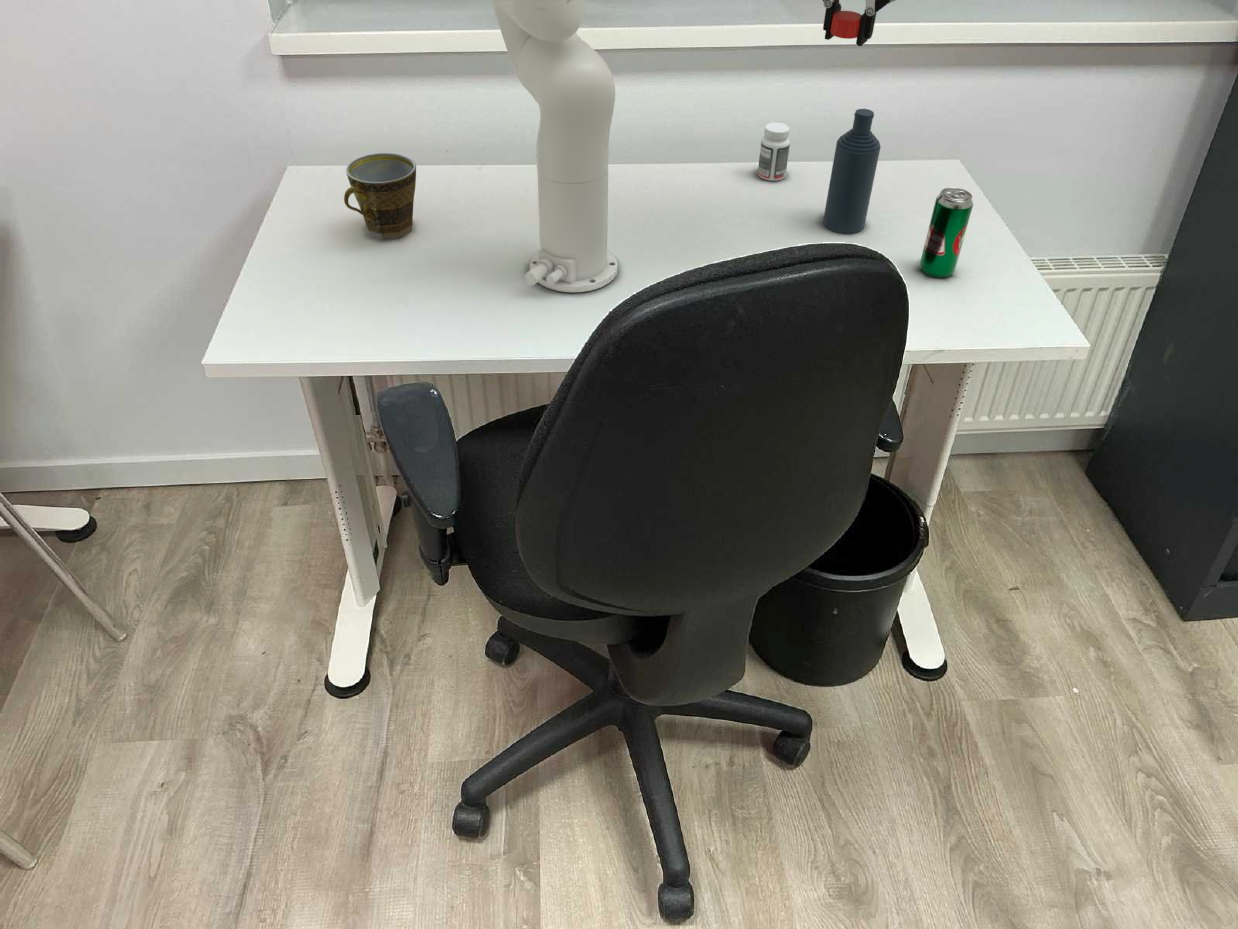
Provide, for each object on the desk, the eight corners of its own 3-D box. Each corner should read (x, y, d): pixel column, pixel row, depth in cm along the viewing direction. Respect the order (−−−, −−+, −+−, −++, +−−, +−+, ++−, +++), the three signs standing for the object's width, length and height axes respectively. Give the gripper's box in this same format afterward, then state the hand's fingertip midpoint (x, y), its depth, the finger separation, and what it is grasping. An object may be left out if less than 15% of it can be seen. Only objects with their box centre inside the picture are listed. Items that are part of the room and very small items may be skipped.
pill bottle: (785, 169, 169) (791, 121, 164) (785, 182, 166) (792, 133, 160) (757, 168, 170) (763, 120, 164) (757, 180, 166) (763, 131, 160)
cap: (865, 36, 135) (869, 17, 133) (843, 40, 133) (846, 21, 132) (846, 27, 137) (849, 8, 136) (824, 31, 136) (827, 12, 134)
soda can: (911, 264, 146) (930, 188, 138) (940, 259, 148) (961, 183, 140) (931, 281, 143) (951, 204, 135) (961, 275, 144) (982, 199, 136)
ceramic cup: (386, 208, 156) (377, 146, 149) (436, 225, 152) (430, 163, 146) (328, 242, 148) (316, 179, 141) (380, 261, 144) (370, 197, 137)
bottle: (864, 235, 153) (888, 122, 141) (822, 231, 153) (842, 118, 142) (863, 216, 157) (886, 105, 146) (823, 212, 158) (842, 101, 146)
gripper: (798, -115, 125) (779, 36, 137) (928, -96, 119) (896, 60, 131) (819, -126, 130) (799, 21, 142) (945, -108, 124) (913, 43, 136)
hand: (846, 38), depth 137 cm, fingers closed on cap, 3 cm apart
